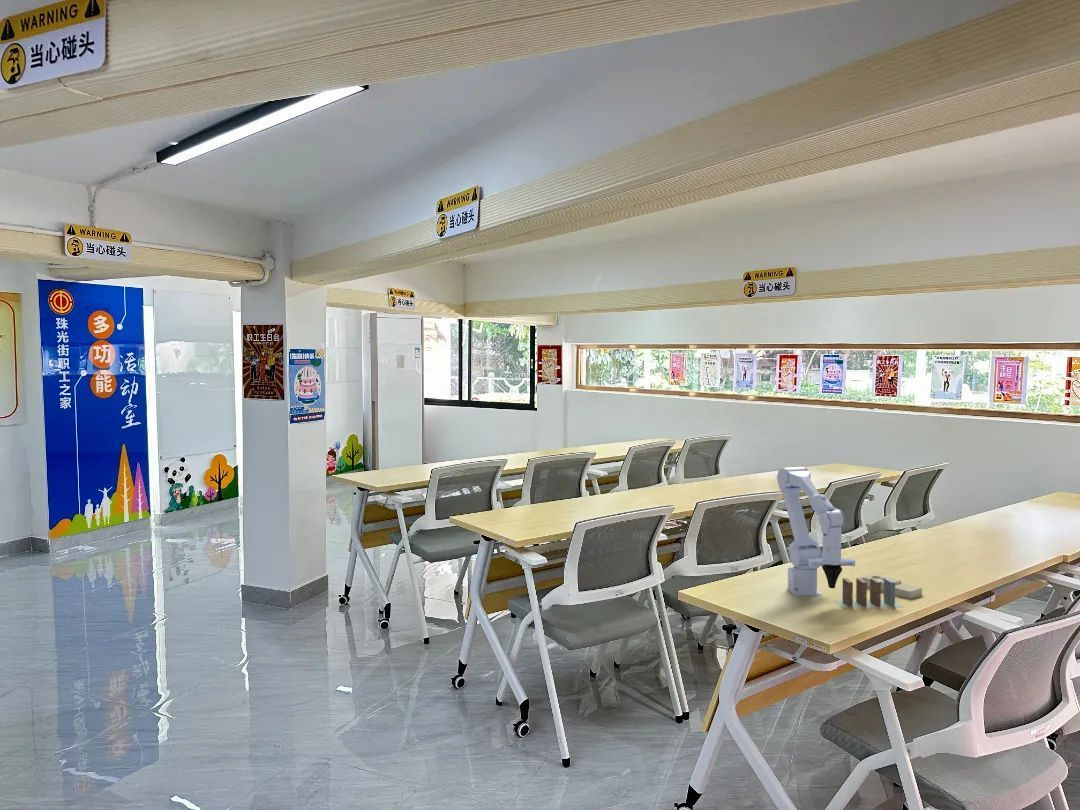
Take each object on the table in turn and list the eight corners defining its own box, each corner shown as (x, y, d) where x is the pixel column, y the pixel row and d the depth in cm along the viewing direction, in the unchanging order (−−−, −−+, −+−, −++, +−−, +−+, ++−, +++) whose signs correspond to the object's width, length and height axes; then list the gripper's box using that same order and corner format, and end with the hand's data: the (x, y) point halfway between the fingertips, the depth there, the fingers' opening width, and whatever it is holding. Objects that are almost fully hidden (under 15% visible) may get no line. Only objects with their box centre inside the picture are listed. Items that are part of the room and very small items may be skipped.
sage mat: (841, 608, 238) (841, 607, 238) (833, 601, 245) (833, 600, 245) (904, 607, 238) (904, 607, 238) (894, 601, 245) (894, 600, 245)
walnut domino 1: (848, 606, 239) (848, 582, 238) (842, 601, 244) (842, 578, 243) (852, 606, 239) (852, 582, 238) (846, 601, 244) (846, 578, 243)
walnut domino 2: (862, 606, 239) (862, 582, 238) (856, 601, 244) (856, 578, 243) (866, 606, 239) (866, 582, 238) (860, 601, 244) (860, 578, 243)
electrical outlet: (910, 589, 246) (861, 576, 261) (910, 600, 246) (861, 587, 261) (922, 585, 249) (873, 573, 265) (921, 597, 250) (873, 584, 265)
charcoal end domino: (890, 606, 238) (890, 582, 238) (883, 601, 243) (884, 577, 243) (894, 606, 238) (895, 582, 238) (888, 601, 243) (888, 577, 243)
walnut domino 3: (876, 606, 238) (876, 582, 238) (869, 601, 243) (870, 578, 243) (880, 606, 238) (880, 582, 238) (874, 601, 243) (874, 578, 243)
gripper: (813, 549, 237) (813, 591, 237) (859, 549, 236) (858, 591, 237) (806, 544, 244) (806, 584, 244) (850, 544, 243) (850, 584, 244)
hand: (831, 587), depth 241 cm, fingers closed
